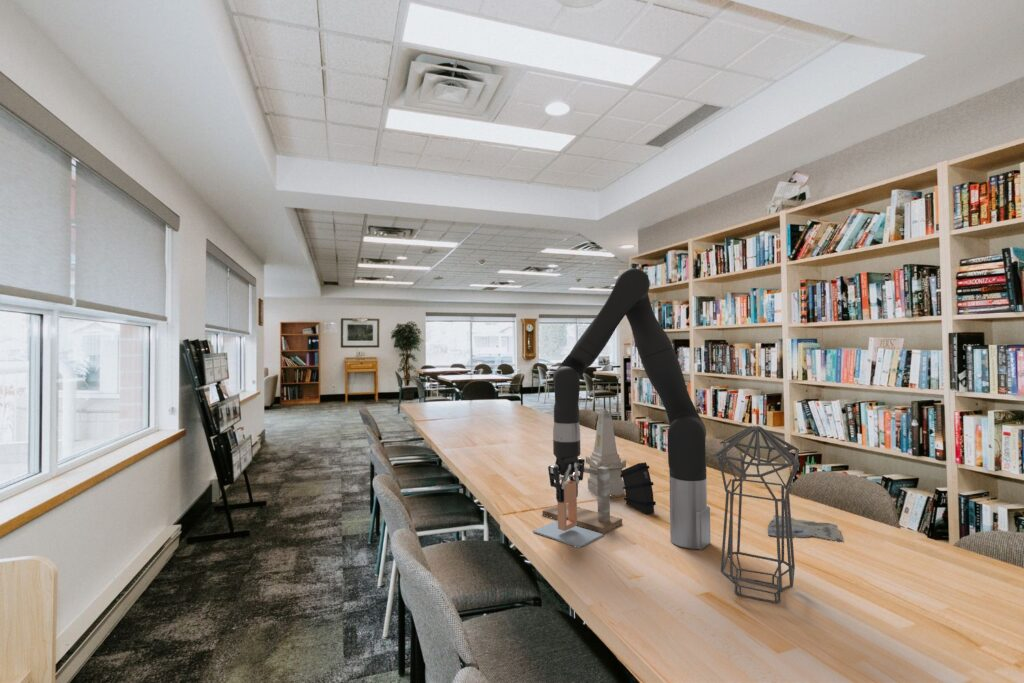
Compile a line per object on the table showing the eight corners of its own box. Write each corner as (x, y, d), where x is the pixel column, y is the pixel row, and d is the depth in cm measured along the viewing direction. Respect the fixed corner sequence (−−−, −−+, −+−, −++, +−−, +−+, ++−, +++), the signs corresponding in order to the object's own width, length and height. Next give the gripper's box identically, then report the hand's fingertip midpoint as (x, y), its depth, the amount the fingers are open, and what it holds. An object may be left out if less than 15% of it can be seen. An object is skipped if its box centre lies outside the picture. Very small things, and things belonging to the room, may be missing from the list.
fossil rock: (835, 529, 138) (835, 521, 138) (845, 550, 124) (845, 540, 125) (766, 520, 146) (765, 512, 146) (768, 538, 132) (768, 529, 132)
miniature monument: (586, 489, 178) (585, 407, 178) (611, 486, 181) (610, 405, 181) (599, 497, 168) (598, 410, 168) (626, 494, 171) (625, 409, 171)
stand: (622, 523, 142) (621, 466, 143) (603, 533, 135) (602, 472, 135) (562, 507, 157) (561, 455, 158) (542, 515, 150) (541, 460, 150)
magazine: (652, 512, 147) (638, 463, 153) (628, 519, 158) (616, 472, 164) (662, 510, 148) (647, 461, 155) (638, 517, 159) (625, 471, 165)
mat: (603, 536, 133) (603, 534, 133) (579, 548, 125) (579, 546, 125) (557, 522, 144) (557, 520, 144) (532, 532, 136) (532, 530, 136)
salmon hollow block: (577, 525, 136) (576, 481, 136) (564, 531, 132) (564, 485, 132) (570, 523, 138) (569, 480, 138) (557, 528, 134) (557, 484, 134)
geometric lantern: (799, 584, 105) (799, 423, 105) (800, 621, 92) (799, 436, 91) (721, 567, 113) (720, 417, 113) (710, 599, 100) (710, 429, 99)
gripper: (561, 443, 127) (562, 508, 127) (592, 436, 138) (593, 496, 138) (539, 440, 133) (540, 502, 132) (571, 433, 143) (571, 491, 143)
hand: (567, 499), depth 135 cm, fingers closed on salmon hollow block, 5 cm apart
